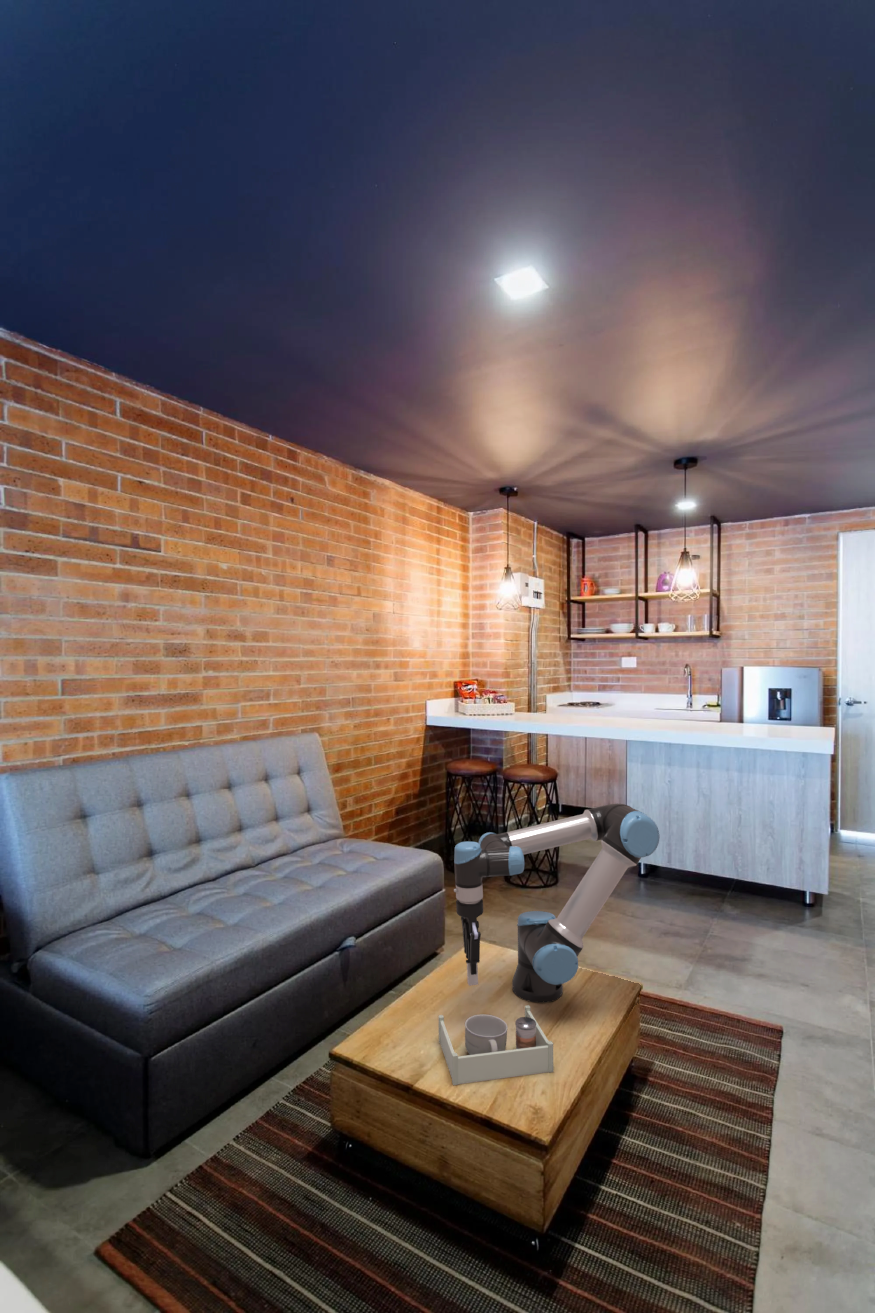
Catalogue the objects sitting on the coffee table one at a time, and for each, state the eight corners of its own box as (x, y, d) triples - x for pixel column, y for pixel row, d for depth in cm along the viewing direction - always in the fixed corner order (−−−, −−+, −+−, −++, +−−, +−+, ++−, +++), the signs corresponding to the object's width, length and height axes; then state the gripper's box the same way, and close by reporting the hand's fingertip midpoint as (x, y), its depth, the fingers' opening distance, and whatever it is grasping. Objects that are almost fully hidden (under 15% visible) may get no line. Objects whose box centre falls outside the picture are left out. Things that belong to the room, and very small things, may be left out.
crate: (529, 1030, 174) (528, 1005, 174) (553, 1072, 156) (553, 1044, 156) (438, 1041, 169) (438, 1015, 169) (453, 1085, 151) (452, 1056, 151)
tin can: (532, 1047, 166) (532, 1016, 166) (539, 1059, 161) (538, 1027, 161) (513, 1050, 165) (512, 1018, 165) (519, 1062, 160) (519, 1029, 160)
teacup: (464, 1043, 168) (464, 1012, 168) (505, 1043, 168) (505, 1012, 168) (466, 1077, 154) (465, 1044, 154) (511, 1077, 154) (510, 1044, 154)
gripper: (451, 892, 185) (454, 974, 184) (461, 909, 172) (465, 997, 172) (476, 889, 186) (479, 971, 186) (488, 906, 173) (492, 993, 173)
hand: (472, 983), depth 179 cm, fingers closed
